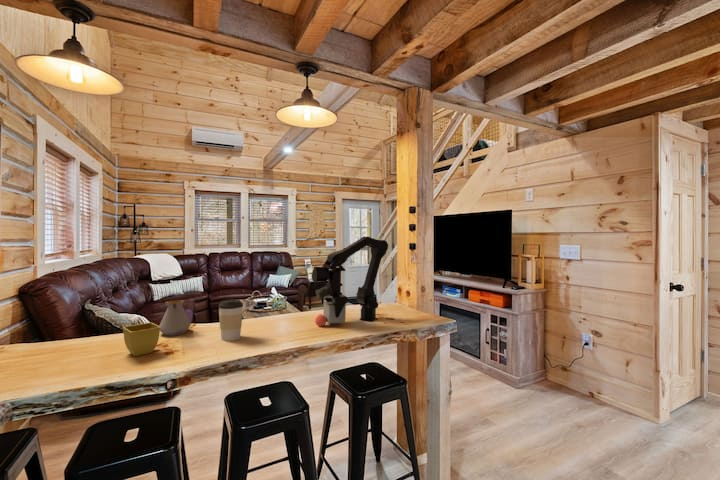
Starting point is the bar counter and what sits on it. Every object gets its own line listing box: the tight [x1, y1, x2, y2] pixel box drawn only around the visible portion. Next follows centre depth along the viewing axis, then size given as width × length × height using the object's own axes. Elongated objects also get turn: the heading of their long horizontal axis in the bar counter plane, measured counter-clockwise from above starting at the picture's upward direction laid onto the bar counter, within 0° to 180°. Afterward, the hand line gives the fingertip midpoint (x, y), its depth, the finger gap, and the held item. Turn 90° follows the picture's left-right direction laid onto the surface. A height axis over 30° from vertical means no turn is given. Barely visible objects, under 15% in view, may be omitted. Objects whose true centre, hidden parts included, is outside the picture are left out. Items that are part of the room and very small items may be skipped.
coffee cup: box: [218, 298, 244, 342], centre depth 129 cm, size 9×9×15 cm
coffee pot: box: [158, 299, 192, 337], centre depth 130 cm, size 21×12×15 cm, turn 29°
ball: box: [314, 314, 327, 327], centre depth 147 cm, size 5×5×5 cm
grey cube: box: [323, 301, 347, 324], centre depth 150 cm, size 8×8×8 cm
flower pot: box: [122, 322, 161, 357], centre depth 112 cm, size 9×9×9 cm
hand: (333, 315), depth 150 cm, fingers closed on grey cube, 8 cm apart
